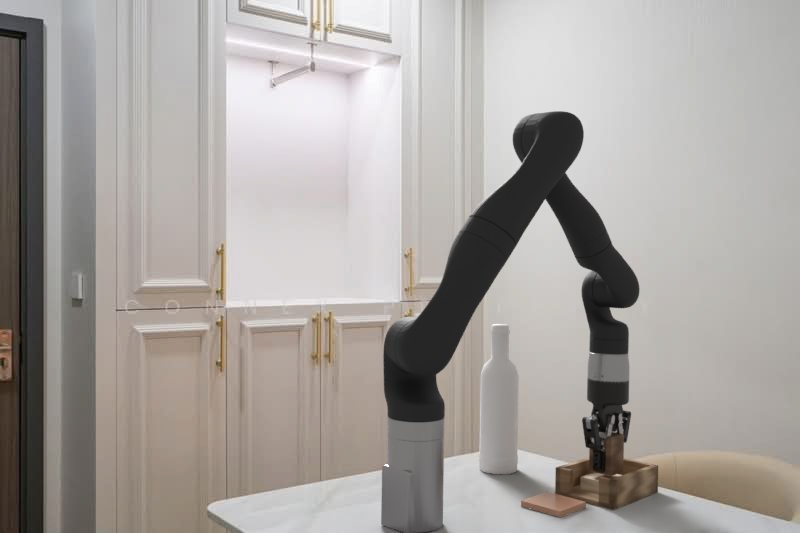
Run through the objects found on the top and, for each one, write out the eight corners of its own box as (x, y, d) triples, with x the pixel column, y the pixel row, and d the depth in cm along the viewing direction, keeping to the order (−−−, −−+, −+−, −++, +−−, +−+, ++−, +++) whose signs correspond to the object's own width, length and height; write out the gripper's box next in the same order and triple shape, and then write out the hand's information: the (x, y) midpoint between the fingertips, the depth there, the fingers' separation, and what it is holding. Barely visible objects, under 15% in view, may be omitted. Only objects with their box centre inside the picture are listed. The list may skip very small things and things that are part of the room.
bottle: (476, 473, 154) (479, 325, 155) (480, 463, 162) (482, 322, 162) (516, 476, 153) (519, 326, 153) (518, 466, 161) (520, 323, 161)
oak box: (613, 509, 132) (614, 481, 132) (555, 494, 141) (555, 467, 141) (657, 492, 143) (658, 465, 143) (601, 478, 152) (601, 453, 152)
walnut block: (610, 476, 139) (611, 437, 139) (588, 471, 142) (589, 433, 142) (623, 471, 142) (624, 434, 142) (601, 467, 145) (602, 430, 145)
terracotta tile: (559, 517, 127) (560, 511, 127) (520, 506, 133) (521, 500, 133) (585, 507, 133) (585, 501, 133) (547, 497, 139) (547, 491, 139)
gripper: (606, 382, 134) (604, 480, 134) (645, 376, 144) (643, 466, 144) (569, 377, 140) (567, 471, 140) (609, 372, 150) (608, 459, 150)
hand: (606, 468), depth 142 cm, fingers closed on walnut block, 4 cm apart
